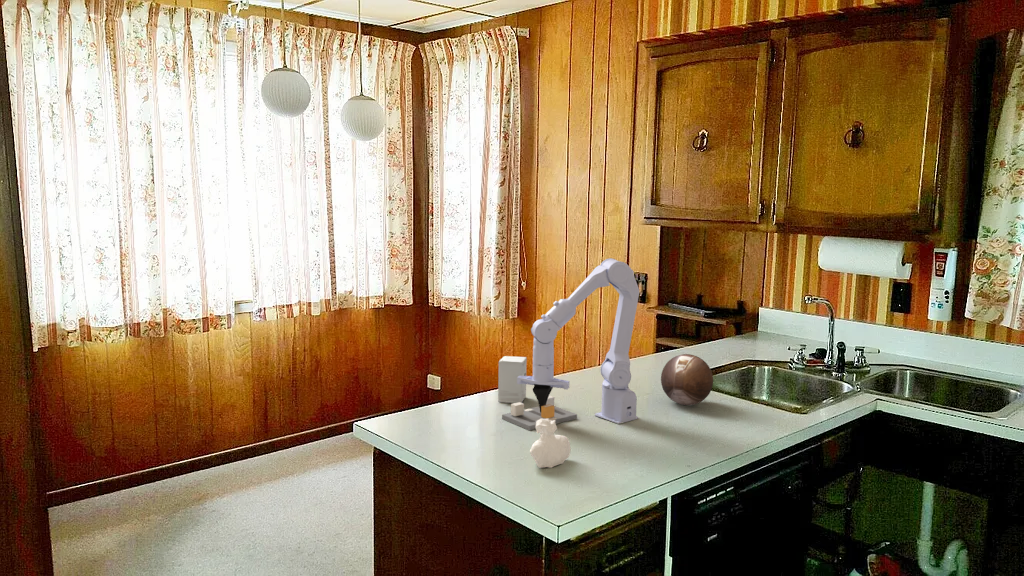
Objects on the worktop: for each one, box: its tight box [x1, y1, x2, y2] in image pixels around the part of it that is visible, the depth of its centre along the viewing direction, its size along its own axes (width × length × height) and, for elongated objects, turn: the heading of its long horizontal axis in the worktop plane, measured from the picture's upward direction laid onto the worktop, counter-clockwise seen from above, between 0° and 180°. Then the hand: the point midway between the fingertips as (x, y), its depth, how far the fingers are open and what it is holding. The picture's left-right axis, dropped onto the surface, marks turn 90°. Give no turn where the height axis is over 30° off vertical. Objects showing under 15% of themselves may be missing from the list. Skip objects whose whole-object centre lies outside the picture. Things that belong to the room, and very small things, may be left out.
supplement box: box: [497, 355, 528, 404], centre depth 219 cm, size 7×7×13 cm
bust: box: [529, 418, 572, 469], centre depth 169 cm, size 12×8×11 cm
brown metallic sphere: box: [660, 353, 714, 406], centre depth 215 cm, size 15×15×15 cm
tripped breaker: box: [541, 404, 555, 419], centre depth 199 cm, size 2×3×3 cm, turn 128°
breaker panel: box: [501, 395, 578, 431], centre depth 201 cm, size 12×17×4 cm
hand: (542, 411), depth 201 cm, fingers closed
